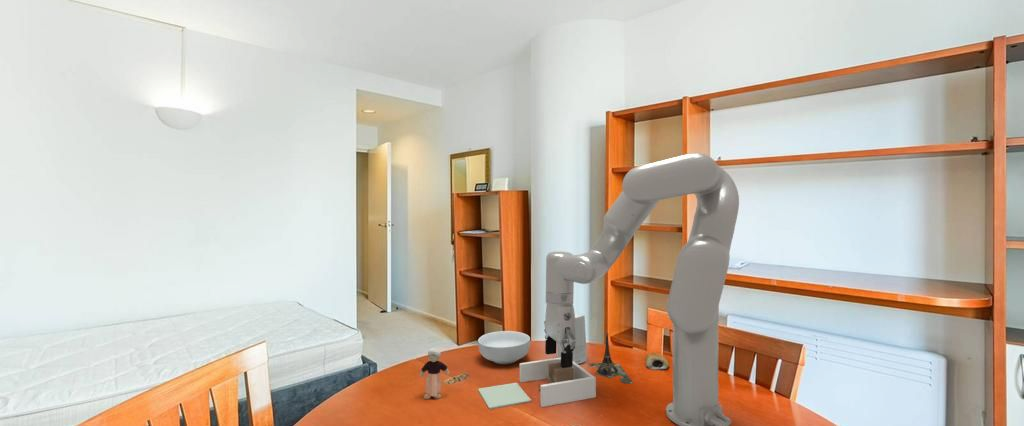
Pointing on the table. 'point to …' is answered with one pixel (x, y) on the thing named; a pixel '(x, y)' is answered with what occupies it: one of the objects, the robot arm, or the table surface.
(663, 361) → the pastry
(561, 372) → the walnut block
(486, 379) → the table surface
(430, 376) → the grandmother figurine
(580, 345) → the skincare box
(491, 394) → the sage mat
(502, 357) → the cereal bowl
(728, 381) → the table surface
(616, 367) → the eiffel tower figurine
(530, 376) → the open side box
